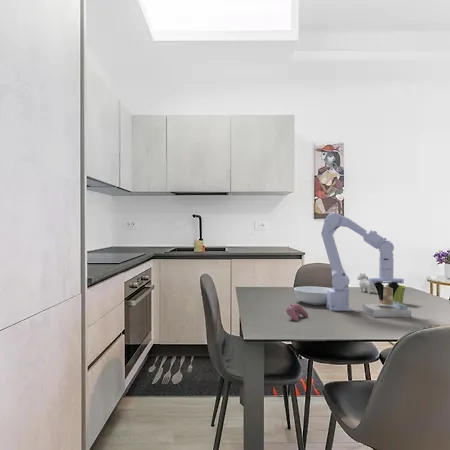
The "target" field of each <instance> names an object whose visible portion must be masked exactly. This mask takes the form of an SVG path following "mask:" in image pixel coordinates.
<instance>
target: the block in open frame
mask: <svg viewBox="0 0 450 450" xmlns="http://www.w3.org/2000/svg"><path fill="white" fill-rule="evenodd" d="M361 309H362V312H364V313H365V314H367V315H369V316H371V317H373V318H411V317H412V309H409V307H408V305H407V304H403V303H399V302H397V301H393V305H383V304H381V303H378V304H377V303H375V304H374V303H362V308H361Z"/></svg>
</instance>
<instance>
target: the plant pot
mask: <svg viewBox="0 0 450 450" xmlns="http://www.w3.org/2000/svg"><path fill="white" fill-rule="evenodd" d="M385 287H389V285H388V284H386V285H385ZM406 288H407V286H406V285H401V284H400V285H399V287H398V288H397V290H396V292H395V294H394V298H393V301H397V302H399V303H402V304H403V302H404V295H405V291H406Z"/></svg>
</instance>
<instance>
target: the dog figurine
mask: <svg viewBox="0 0 450 450" xmlns="http://www.w3.org/2000/svg"><path fill="white" fill-rule="evenodd" d="M356 279H357V280H358V281H359V282H358V283H359V284H358V285H359V287H360V290H359V293H363V290H364V292H365V291H367V294H368V293H370V294H371V291H372V294H376V287H375V285H374V283H369V276H367V275H366V273H359V275H357V277H356Z"/></svg>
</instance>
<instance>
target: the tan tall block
mask: <svg viewBox="0 0 450 450" xmlns="http://www.w3.org/2000/svg"><path fill="white" fill-rule="evenodd" d="M379 304H383V305H393V288H390V287H386V286H384V288H383V300H379Z"/></svg>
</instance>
